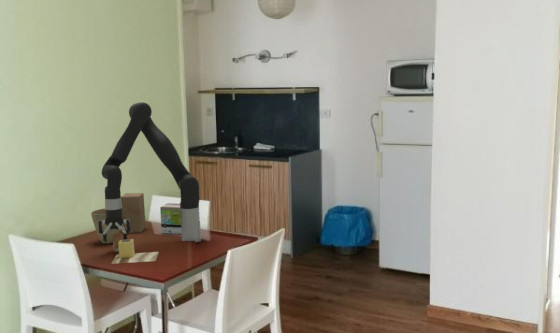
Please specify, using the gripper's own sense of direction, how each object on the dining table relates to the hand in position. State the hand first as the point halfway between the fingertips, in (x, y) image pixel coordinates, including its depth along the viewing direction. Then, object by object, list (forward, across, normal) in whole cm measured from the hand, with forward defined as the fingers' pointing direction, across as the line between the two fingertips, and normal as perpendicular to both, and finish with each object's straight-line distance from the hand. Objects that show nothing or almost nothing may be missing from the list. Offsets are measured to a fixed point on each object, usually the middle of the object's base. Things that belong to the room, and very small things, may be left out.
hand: (115, 241), depth 262 cm
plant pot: (+6, -8, +22) cm, 24 cm away
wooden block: (+6, +2, +42) cm, 42 cm away
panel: (+6, +11, -13) cm, 18 cm away
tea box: (+6, +26, +34) cm, 43 cm away
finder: (+4, +7, -10) cm, 13 cm away
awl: (+6, 0, 0) cm, 6 cm away
